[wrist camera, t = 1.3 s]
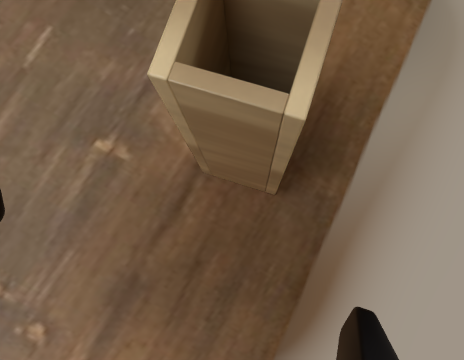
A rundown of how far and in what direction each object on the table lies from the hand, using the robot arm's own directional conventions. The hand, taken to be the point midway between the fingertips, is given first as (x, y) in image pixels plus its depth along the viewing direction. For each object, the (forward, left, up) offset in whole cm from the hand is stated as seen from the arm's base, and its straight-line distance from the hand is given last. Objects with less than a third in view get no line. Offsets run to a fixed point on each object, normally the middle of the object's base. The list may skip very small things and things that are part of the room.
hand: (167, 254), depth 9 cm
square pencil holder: (+7, 0, -13) cm, 14 cm away
